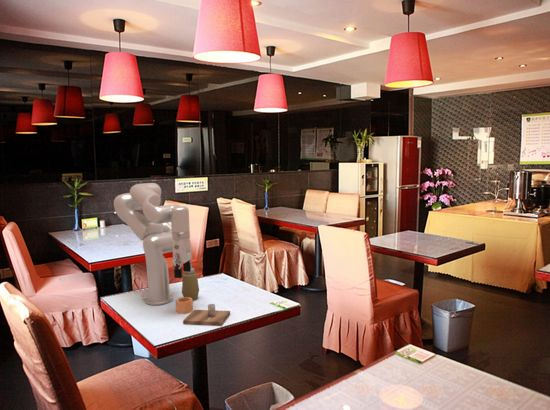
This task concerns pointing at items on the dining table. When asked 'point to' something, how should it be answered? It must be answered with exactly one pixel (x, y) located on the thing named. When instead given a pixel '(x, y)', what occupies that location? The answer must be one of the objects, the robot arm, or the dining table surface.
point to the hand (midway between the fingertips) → (182, 274)
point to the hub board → (207, 317)
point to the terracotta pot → (184, 305)
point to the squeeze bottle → (190, 284)
